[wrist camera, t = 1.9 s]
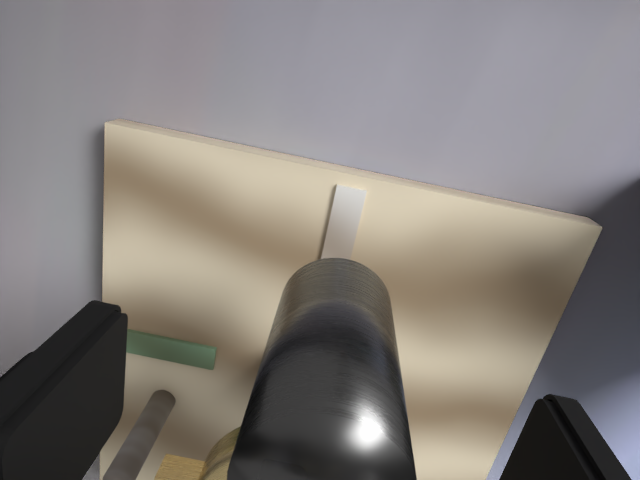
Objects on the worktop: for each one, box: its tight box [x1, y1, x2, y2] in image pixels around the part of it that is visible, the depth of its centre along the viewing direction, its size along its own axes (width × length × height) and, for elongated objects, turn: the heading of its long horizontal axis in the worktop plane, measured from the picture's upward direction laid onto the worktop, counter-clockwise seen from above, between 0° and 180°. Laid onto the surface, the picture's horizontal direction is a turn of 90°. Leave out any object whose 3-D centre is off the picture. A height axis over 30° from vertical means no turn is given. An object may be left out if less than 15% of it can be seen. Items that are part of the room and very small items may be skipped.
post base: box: [100, 119, 603, 480], centre depth 20 cm, size 20×20×7 cm
